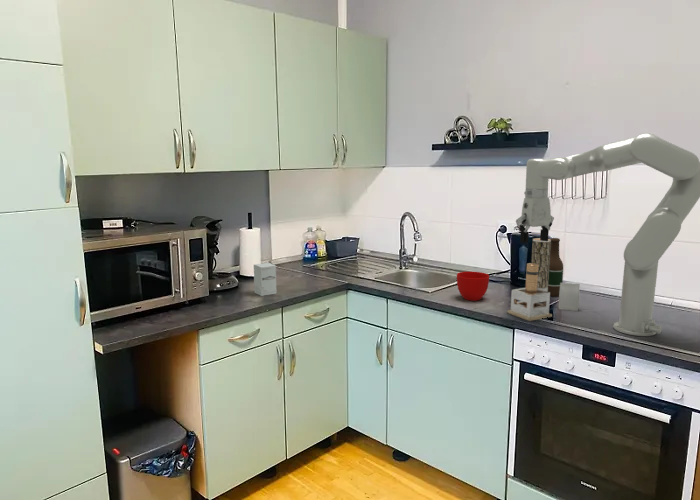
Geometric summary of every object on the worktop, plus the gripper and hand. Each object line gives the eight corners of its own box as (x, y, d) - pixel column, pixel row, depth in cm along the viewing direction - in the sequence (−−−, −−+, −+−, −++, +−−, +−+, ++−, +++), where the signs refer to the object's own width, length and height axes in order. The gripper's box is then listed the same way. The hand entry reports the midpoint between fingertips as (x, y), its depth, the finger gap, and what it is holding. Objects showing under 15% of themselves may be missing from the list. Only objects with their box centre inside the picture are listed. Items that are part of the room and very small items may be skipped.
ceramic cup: (500, 297, 215) (501, 273, 214) (475, 304, 204) (476, 280, 203) (474, 291, 225) (474, 268, 223) (449, 298, 214) (450, 274, 212)
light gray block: (578, 311, 196) (580, 285, 194) (558, 309, 198) (560, 283, 196) (577, 308, 199) (579, 283, 197) (558, 306, 201) (560, 281, 199)
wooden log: (535, 303, 206) (539, 241, 202) (525, 298, 213) (529, 238, 208) (550, 301, 208) (554, 240, 204) (540, 297, 214) (543, 237, 210)
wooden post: (537, 312, 190) (541, 264, 187) (529, 314, 188) (532, 265, 185) (529, 310, 193) (532, 262, 190) (521, 311, 192) (524, 263, 188)
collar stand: (551, 316, 188) (553, 292, 187) (529, 321, 184) (530, 296, 182) (529, 309, 198) (530, 286, 197) (507, 312, 193) (508, 289, 192)
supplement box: (261, 296, 218) (260, 267, 216) (254, 292, 224) (253, 264, 222) (277, 294, 222) (276, 265, 220) (269, 290, 228) (268, 262, 226)
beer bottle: (565, 295, 218) (569, 238, 213) (553, 297, 214) (556, 240, 210) (550, 291, 224) (553, 236, 220) (537, 293, 220) (541, 237, 216)
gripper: (526, 195, 176) (523, 245, 179) (562, 193, 184) (559, 241, 187) (510, 194, 183) (508, 242, 186) (546, 192, 190) (543, 238, 193)
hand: (534, 241), depth 186 cm, fingers open, 9 cm apart
